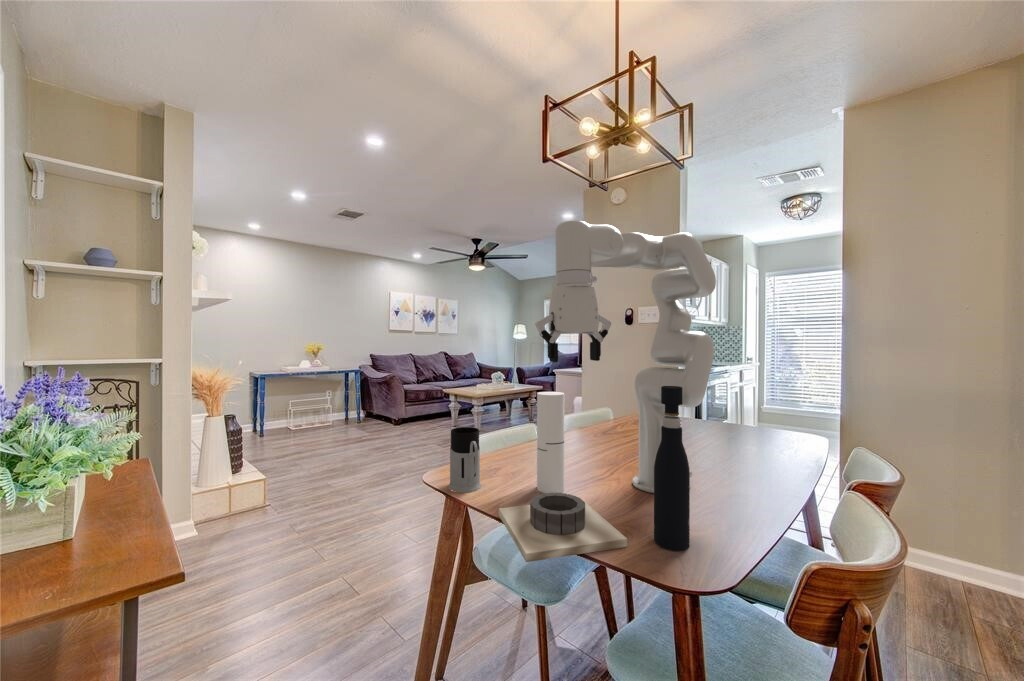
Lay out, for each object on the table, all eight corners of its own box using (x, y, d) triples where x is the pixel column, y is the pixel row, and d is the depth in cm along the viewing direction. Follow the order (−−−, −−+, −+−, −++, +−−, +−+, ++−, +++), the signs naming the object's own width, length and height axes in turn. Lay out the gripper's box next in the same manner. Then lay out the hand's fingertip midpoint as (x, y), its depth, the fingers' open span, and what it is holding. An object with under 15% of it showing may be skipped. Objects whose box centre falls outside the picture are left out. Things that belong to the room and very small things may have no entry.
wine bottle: (648, 535, 82) (648, 385, 82) (679, 534, 82) (679, 384, 82) (662, 552, 75) (663, 389, 75) (696, 550, 76) (696, 388, 76)
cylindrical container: (563, 494, 103) (563, 395, 103) (535, 492, 104) (535, 394, 104) (565, 484, 110) (565, 391, 110) (539, 483, 111) (539, 391, 111)
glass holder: (475, 479, 114) (475, 425, 114) (493, 497, 101) (493, 436, 101) (444, 483, 111) (444, 428, 111) (459, 502, 98) (459, 440, 98)
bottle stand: (581, 505, 96) (581, 481, 96) (627, 546, 77) (627, 517, 77) (498, 515, 91) (498, 490, 91) (526, 562, 72) (526, 530, 72)
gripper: (601, 284, 93) (601, 359, 94) (529, 282, 88) (530, 361, 89) (618, 279, 86) (619, 360, 87) (542, 277, 81) (543, 363, 82)
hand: (574, 361), depth 88 cm, fingers open, 9 cm apart
